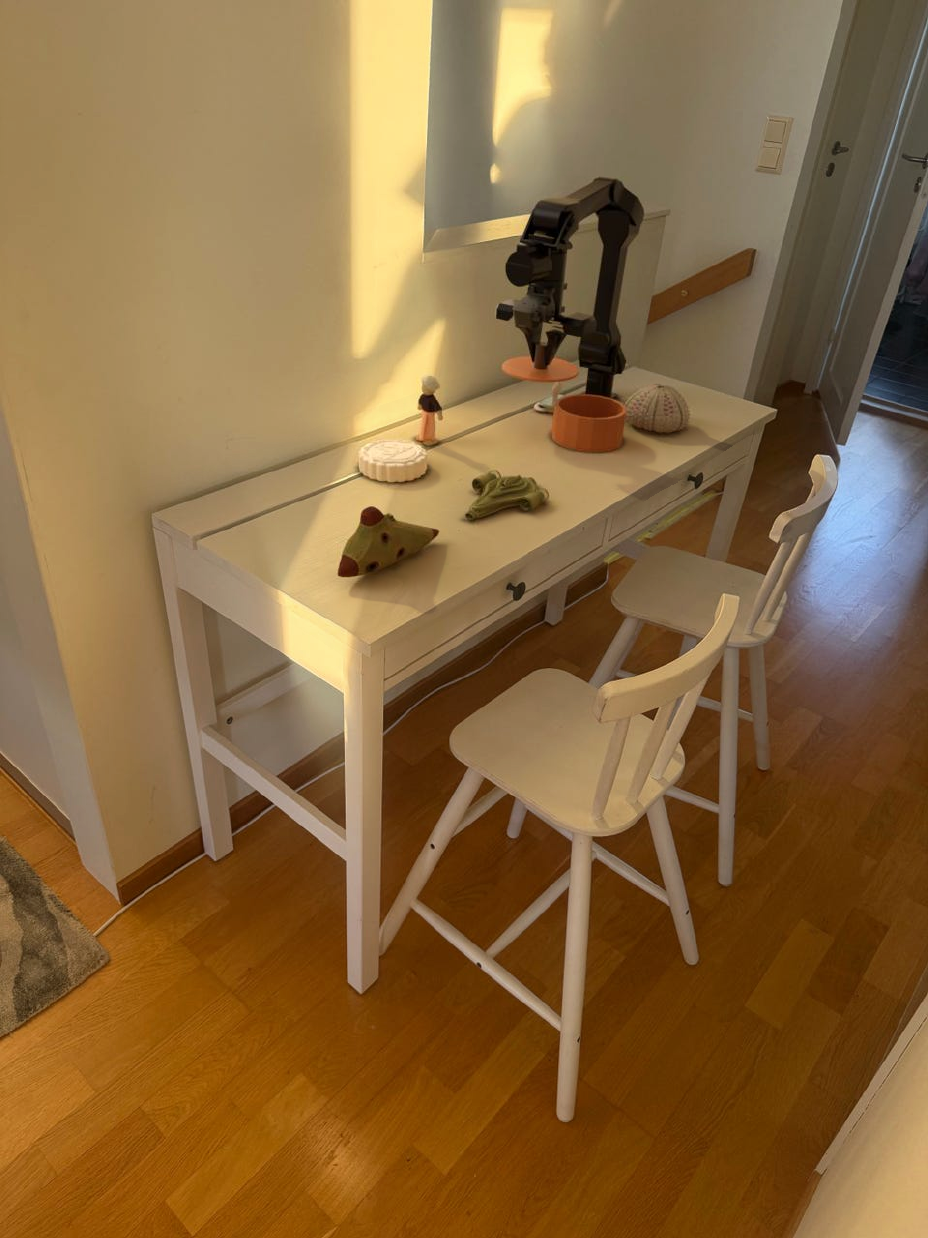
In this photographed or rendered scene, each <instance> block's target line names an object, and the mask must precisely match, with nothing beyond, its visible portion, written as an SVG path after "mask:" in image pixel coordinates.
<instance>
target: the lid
mask: <svg viewBox="0 0 928 1238" xmlns="http://www.w3.org/2000/svg"><path fill="white" fill-rule="evenodd" d="M547 342H548V341H540V342H537V343H536V348H535V359H534V363H533V362H532V359H531V356H530V355H523V356H516V357H512V358H509V359H507V360H505V361H504V362H503V363H502V365H501V369H502V371H503V372H504V374H506V375H508V376H510V377H513V378H515V379H519V380H523V381H528V382H535V383H556V382H560V383H561V382H568V381H570V380H573V379H575V378H577V377H578V376H579V373H580V369H579V367H578V365H575V364H574V363H572V362H570V361H568V360H564V359H560V358H557V357H554V358H553V360H552V362H551V363H550V365H548V366H546V365H545V358H546V350H547Z"/></svg>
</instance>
